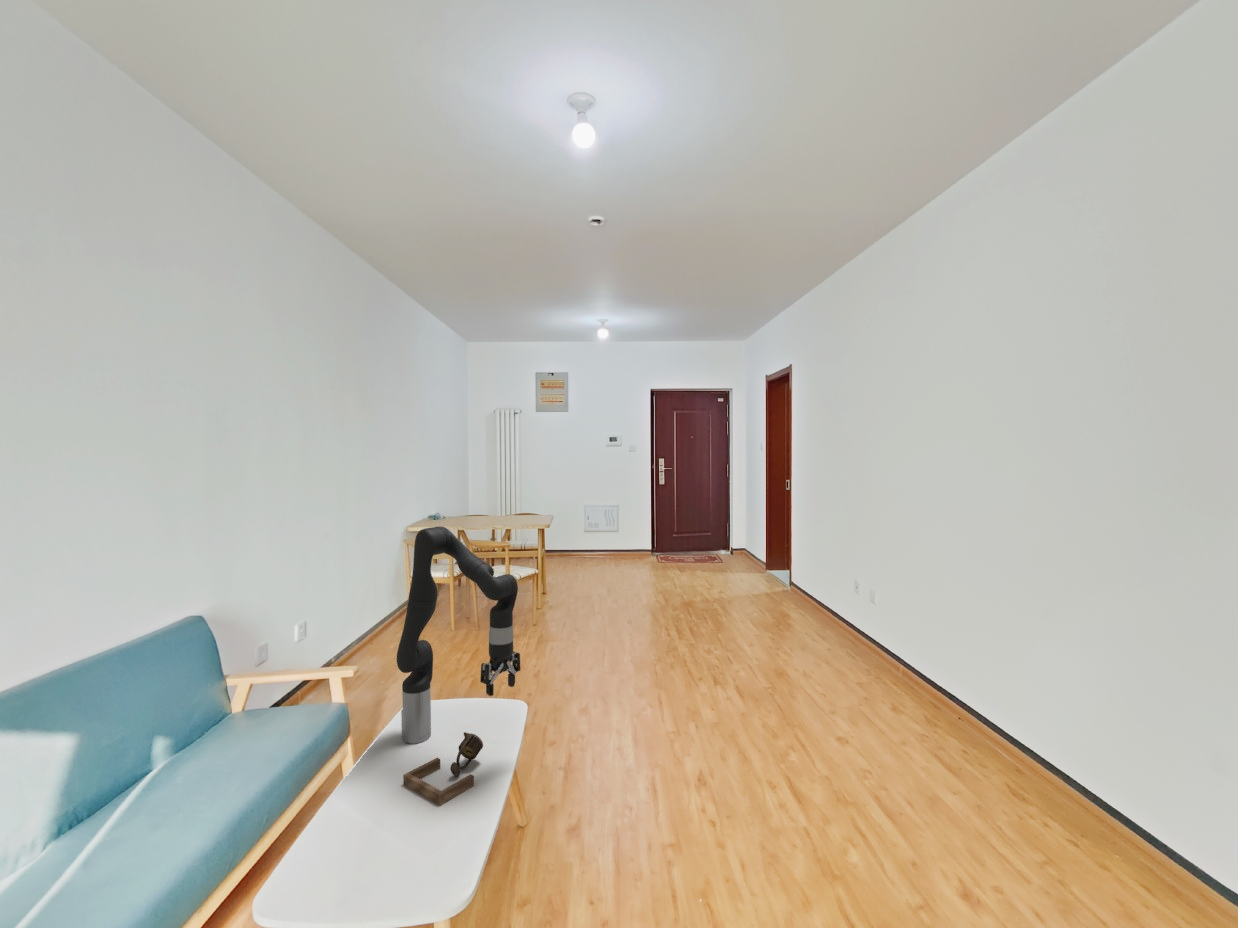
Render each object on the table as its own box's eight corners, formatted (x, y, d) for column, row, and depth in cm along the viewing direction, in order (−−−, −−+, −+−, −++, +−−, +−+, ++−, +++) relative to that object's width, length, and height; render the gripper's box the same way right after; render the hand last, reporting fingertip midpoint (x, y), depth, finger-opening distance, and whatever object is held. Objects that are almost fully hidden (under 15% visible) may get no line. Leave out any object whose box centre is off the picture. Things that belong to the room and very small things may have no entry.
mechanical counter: (486, 758, 188) (485, 727, 188) (472, 780, 176) (472, 748, 175) (464, 757, 189) (464, 726, 189) (449, 779, 176) (448, 746, 176)
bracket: (403, 784, 174) (403, 774, 174) (437, 766, 183) (437, 757, 183) (440, 805, 163) (439, 794, 163) (474, 785, 173) (473, 775, 173)
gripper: (510, 631, 190) (509, 680, 191) (475, 642, 179) (474, 694, 179) (526, 636, 186) (525, 686, 186) (491, 648, 174) (491, 701, 175)
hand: (500, 690), depth 183 cm, fingers open, 8 cm apart
